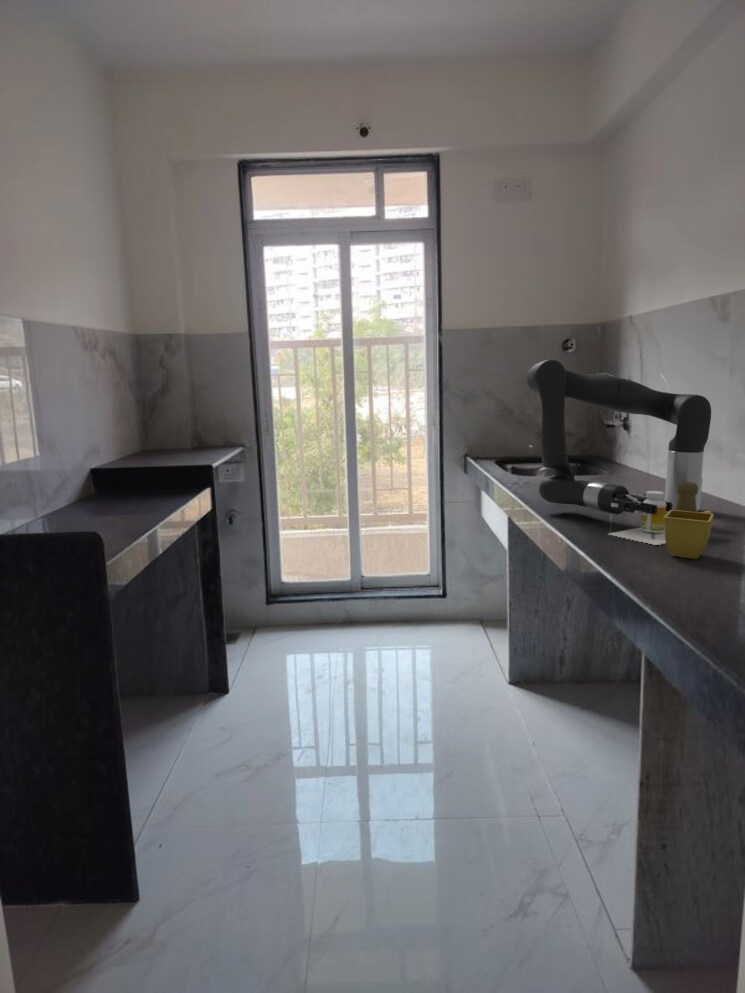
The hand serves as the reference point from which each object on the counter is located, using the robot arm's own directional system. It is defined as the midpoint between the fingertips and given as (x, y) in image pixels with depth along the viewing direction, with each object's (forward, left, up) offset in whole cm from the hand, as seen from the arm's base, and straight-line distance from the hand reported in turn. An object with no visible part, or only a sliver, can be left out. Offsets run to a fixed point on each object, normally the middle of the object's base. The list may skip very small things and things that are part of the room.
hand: (663, 508), depth 159 cm
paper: (+2, -1, -7) cm, 7 cm away
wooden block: (-5, +6, -7) cm, 11 cm away
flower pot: (+13, +14, -7) cm, 20 cm away
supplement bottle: (0, -3, -6) cm, 7 cm away
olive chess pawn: (-17, -5, -7) cm, 19 cm away
